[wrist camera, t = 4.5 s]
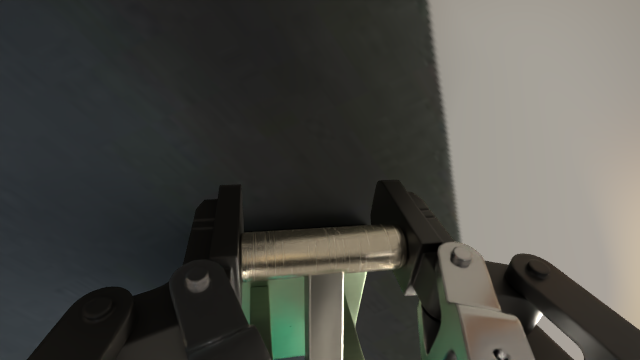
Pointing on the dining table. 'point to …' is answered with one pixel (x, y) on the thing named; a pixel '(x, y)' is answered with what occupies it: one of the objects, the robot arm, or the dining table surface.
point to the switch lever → (322, 271)
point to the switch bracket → (297, 314)
